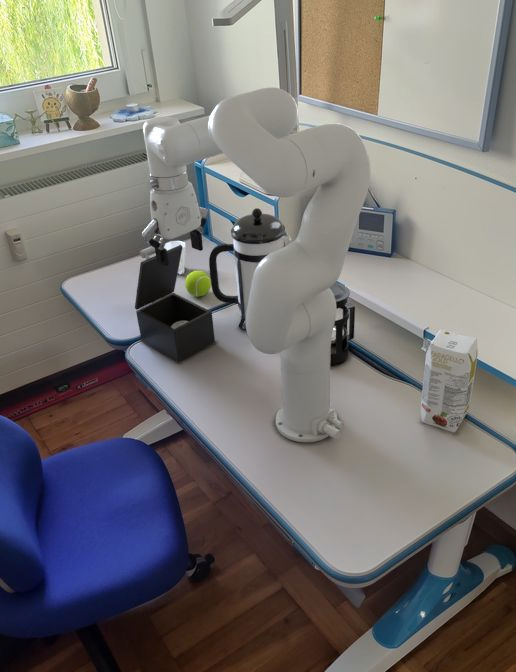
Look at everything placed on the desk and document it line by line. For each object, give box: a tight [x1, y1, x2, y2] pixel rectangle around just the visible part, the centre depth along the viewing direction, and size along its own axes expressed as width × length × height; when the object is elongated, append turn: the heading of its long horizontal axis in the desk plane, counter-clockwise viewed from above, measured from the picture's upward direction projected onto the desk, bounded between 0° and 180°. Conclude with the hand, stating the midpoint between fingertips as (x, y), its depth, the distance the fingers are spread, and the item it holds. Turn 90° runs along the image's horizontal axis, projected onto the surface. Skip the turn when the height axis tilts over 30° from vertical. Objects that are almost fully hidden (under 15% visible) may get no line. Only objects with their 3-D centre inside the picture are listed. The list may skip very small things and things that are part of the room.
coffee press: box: [208, 207, 292, 331], centre depth 160 cm, size 17×16×30 cm
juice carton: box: [420, 328, 479, 433], centre depth 128 cm, size 8×9×19 cm
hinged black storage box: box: [135, 292, 216, 364], centre depth 160 cm, size 15×12×9 cm
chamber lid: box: [134, 245, 183, 311], centre depth 157 cm, size 15×12×5 cm
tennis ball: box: [184, 270, 212, 298], centre depth 180 cm, size 7×7×7 cm
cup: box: [164, 240, 187, 275], centre depth 191 cm, size 7×10×8 cm
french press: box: [330, 282, 356, 368], centre depth 148 cm, size 12×9×23 cm
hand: (180, 256), depth 145 cm, fingers open, 9 cm apart
